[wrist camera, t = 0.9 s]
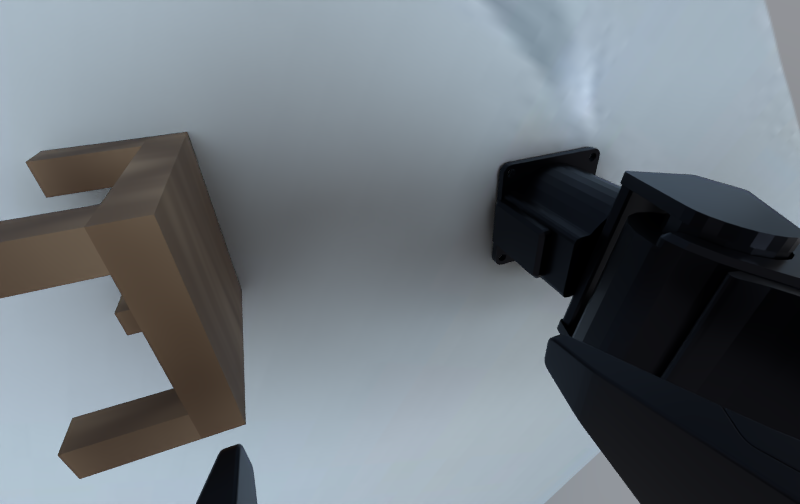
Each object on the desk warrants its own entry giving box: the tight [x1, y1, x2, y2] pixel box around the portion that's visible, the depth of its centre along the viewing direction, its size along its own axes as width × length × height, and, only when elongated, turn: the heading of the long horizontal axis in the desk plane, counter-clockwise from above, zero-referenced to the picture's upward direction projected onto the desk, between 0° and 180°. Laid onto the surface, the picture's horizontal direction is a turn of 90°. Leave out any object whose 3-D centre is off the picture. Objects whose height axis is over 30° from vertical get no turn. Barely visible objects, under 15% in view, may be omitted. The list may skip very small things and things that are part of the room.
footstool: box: [0, 132, 246, 479], centre depth 14 cm, size 5×8×8 cm, turn 5°
